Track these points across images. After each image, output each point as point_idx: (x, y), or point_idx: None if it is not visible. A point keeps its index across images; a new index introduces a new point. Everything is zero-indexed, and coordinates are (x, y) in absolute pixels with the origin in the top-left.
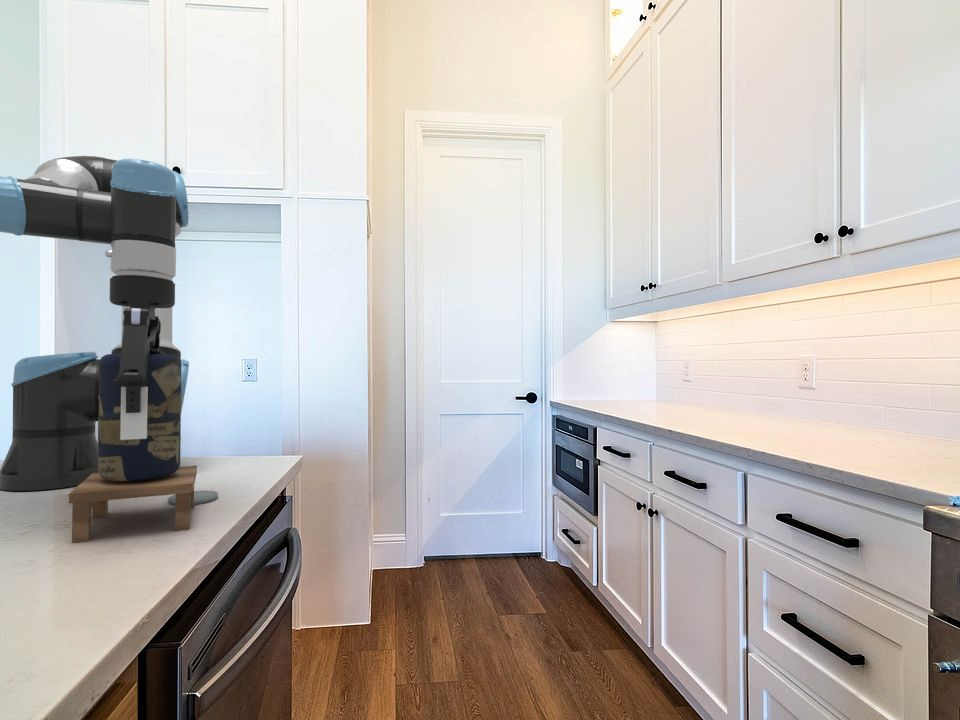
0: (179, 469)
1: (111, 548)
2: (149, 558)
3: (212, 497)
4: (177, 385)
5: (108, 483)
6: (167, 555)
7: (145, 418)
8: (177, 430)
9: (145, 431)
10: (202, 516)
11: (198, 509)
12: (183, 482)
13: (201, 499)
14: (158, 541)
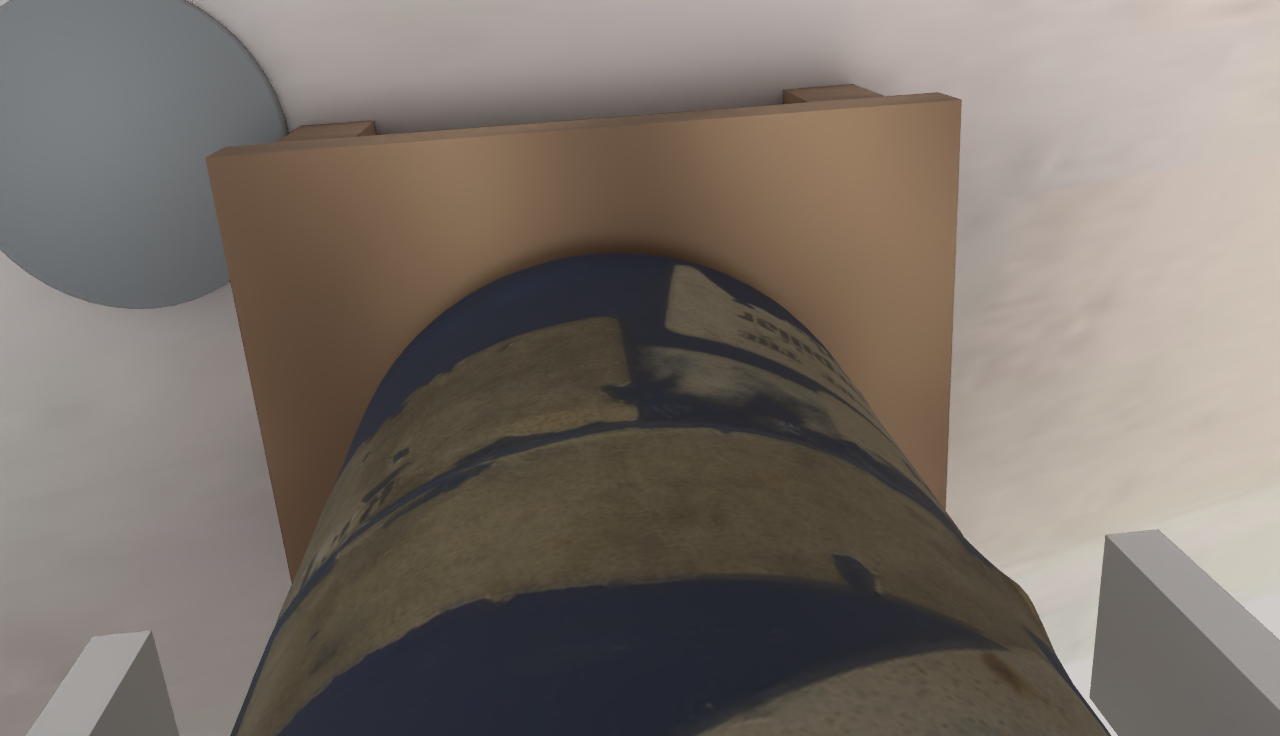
0: (359, 270)
1: (1010, 386)
2: (1239, 199)
3: (194, 13)
4: (922, 676)
5: None
6: (1240, 129)
7: (1278, 642)
8: (738, 365)
9: (1198, 568)
10: (599, 40)
11: (412, 84)
12: (893, 167)
13: (248, 85)
14: (1001, 207)
